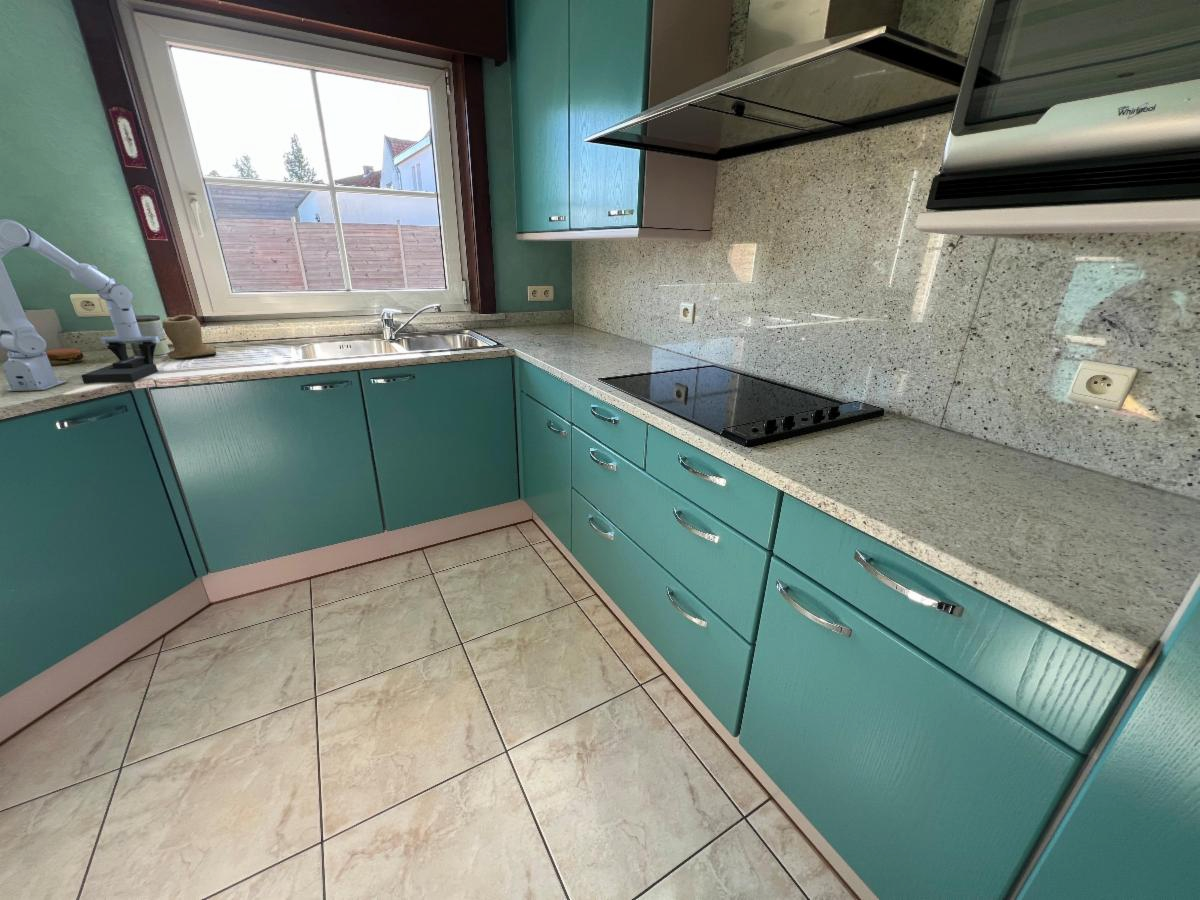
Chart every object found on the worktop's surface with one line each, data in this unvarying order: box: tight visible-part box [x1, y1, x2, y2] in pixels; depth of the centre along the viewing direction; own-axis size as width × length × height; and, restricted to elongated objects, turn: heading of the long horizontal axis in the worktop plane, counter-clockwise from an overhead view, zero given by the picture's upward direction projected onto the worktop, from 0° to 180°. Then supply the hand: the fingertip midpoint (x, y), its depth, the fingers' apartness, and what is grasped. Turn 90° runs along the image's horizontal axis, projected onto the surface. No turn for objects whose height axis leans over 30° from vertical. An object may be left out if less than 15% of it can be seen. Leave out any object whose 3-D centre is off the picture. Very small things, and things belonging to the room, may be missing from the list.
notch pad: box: [80, 363, 159, 384], centre depth 151 cm, size 14×12×2 cm
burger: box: [45, 347, 86, 366], centre depth 167 cm, size 10×9×5 cm
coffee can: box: [130, 314, 171, 359], centre depth 178 cm, size 10×10×14 cm
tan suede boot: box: [161, 314, 217, 359], centre depth 179 cm, size 15×12×15 cm
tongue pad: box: [111, 356, 147, 369], centre depth 157 cm, size 10×5×4 cm, turn 16°
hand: (138, 365), depth 160 cm, fingers open, 6 cm apart
